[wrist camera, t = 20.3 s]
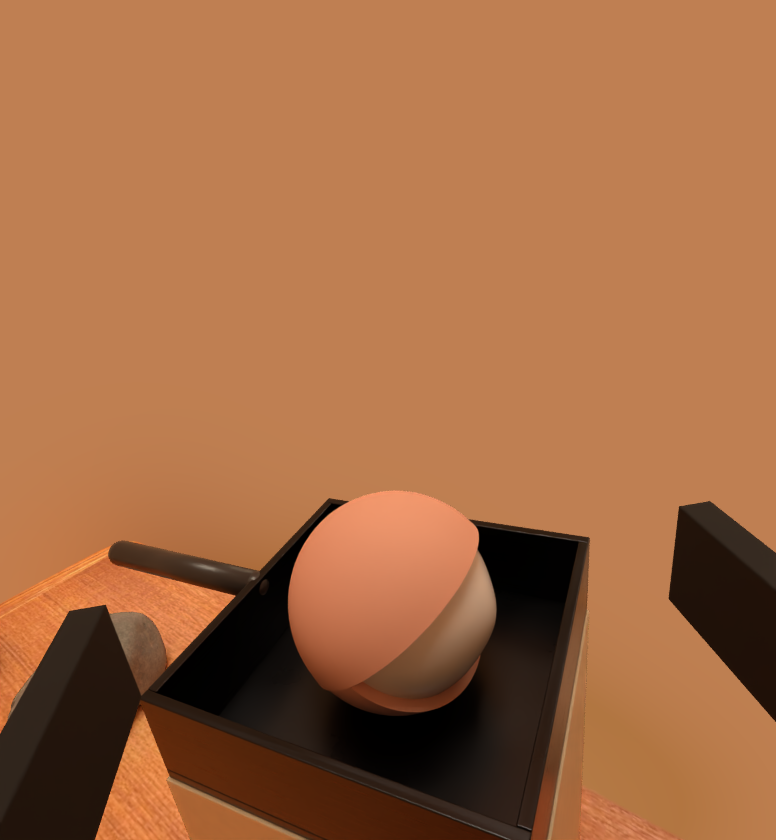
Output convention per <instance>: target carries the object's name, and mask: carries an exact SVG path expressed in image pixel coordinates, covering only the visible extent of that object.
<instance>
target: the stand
mask: <svg viewBox="0 0 776 840" xmlns="http://www.w3.org/2000/svg"><path fill="white" fill-rule="evenodd" d="M588 630H589V610H587V612H586V618H585V624H584V630H583V635H582V641H581V647H580V653H579V659H578V665H577V670H576V676H575V682H574V688H573V694H572V700H571V705H570V711H569V717H568V723H567V729H566V735H565V741H564V746H563V752H562V758H561V764H560V770H559V776H558V781H557V787H556V793H555V799H554V805H553V811H552V816H551V822H550V828H549V834H548V840H580V818H581V795H582V770H583V746H584V724H585V700H586V699H585V698H586V677H587V654H588V653H587V652H588ZM167 783H168V785H169V788H170V790H171V793H172V795H173V798H174V800H175V803H176V805H177V807H178V810H179V812H180V815H181V817H182V820H183V822H184V825H185V827H186V830H187V832H188V835H189V837H190V840H308V839H306V838H304V837H302V836H299V835H297V834H295V833H293V832H290V831H288V830H286V829H284V828H282V827H279V826H277V825H275V824H273V823H270V822H268V821H266V820H264V819H262V818H259V817H257V816H255V815H253V814H250V813H248V812H246V811H244V810H242V809H239V808H237V807H235V806H233V805H230V804H228V803H226V802H224V801H222V800H219V799H217V798H215V797H213V796H210V795H208V794H206V793H204V792H202V791H199V790H197V789H195V788H193V787H190V786H188V785H186V784H184V783H182V782H179V781H177V780H175V779H173V778H170V776H169V777H168V778H167Z"/></svg>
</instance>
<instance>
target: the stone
mask: <svg viewBox="0 0 776 840" xmlns="http://www.w3.org/2000/svg"><path fill="white" fill-rule="evenodd" d="M109 615H110V617H111V620H112V622H113V625H114V627H115V630H116V632H117V635H118V637H119V640H120V642H121V645H122V648H123V650H124V653H125V655H126V658H127V660H128V663H129V665H130V668H131V670H132V673H133V676H134V678H135V681H136V683H137V686H138V688H139V691H140V693H141V695H142V694H143V693H144V692H145V691H146V690H148V688H149V687H150V686H151V685H152V684H153V683H154V682H155V681H156V680H157V679H158V678H159V677H160V675H161V674H162V673H163V672H164V671H165V668H166V663H167V658H166V650H165V646H164V643H163V640H162V638H161V635H160V633H159V630H158V629H157V627H156V625H155V624H154V623H153V621H152V620H150V619H149V618H148V617H147V616H146V615H144V614H141V613H137V612H120V613H113V614H109ZM34 673H35V672H34ZM34 673H33V674H32V675H31V677H30V678H29V679H28V680H27V682H26V683H25V684H24V686H23V687H22V688H21V690H20V691H19V692H18V694H17V695H16V696H15V698H14V700H13V702H12V705H11V711H10V713H9V716H8V719H9V717H10V716H11V714H12V712H13V710H14V709H15V707H16V705H17V703H18V701H19V700H20V698H21V696H22V694H23V693H24V691H25V689H26V687H27V685H28V684H29V682H30V680H31V678H32V677H33V675H34ZM140 704H141V703H139V705H140Z"/></svg>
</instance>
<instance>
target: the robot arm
mask: <svg viewBox="0 0 776 840" xmlns="http://www.w3.org/2000/svg"><path fill="white" fill-rule="evenodd" d="M669 600H670V601H671V602H672V603H673V605H675V607H676V608H677V609H678V610H679V611H680V613H681V614H682V615H683V616H684V617H685V618H686V619H687V621H688V622H689V623H690V624H691V625H692V626H693V627H694V629H695V630H696V631H697V632H698V633H699V634H700V636H702V638H703V639H704V640H705V641H706V642H707V644H709V646H710V647H711V648H712V649H713V650H714V651H715V653H716V654H717V655H718V656H719V657H720V658H721V660H722V661H723V662H724V663H725V664H726V665H727V666H728V668H729V669H730V670H731V671H732V672H733V673H734V675H735V676H736V677H737V678H738V679H739V680H740V681H741V683H742V684H743V685H744V686H745V687H746V688H747V689H748V691H749V692H750V693H751V694H752V695H753V696H754V697H755V699H756V700H757V701H758V702H759V703H760V704H761V706H762V707H763V708H764V709H765V710H766V711H767V712H768V714H769V715H770V716H771V717H772V718H773V719H774V720H775V722H776V553H775V552H774V551H773V550H771V549H770V548H768V547H767V546H766V545H765V544H764V543H762V542H761V541H760V540H759V539H757V538H756V537H755V536H753V535H752V534H751V533H750V532H748V531H747V530H746V529H745V528H743V527H742V526H741V525H739V524H738V523H737V522H736V521H734V520H733V519H732V518H731V517H729V516H728V515H727V514H726V513H724V512H723V511H722V510H720V509H719V508H718V507H717V506H715V505H714V504H713V503H711V502H710V501H708V502H703V503H697V504H691V505H685V506H679V512H678V521H677V530H676V539H675V547H674V556H673V566H672V574H671V582H670V592H669ZM141 697H142V696H141V693H140V691H139V688H138V686H137V683H136V681H135V678H134V676H133V673H132V670H131V668H130V665H129V663H128V660H127V658H126V655H125V653H124V650H123V648H122V645H121V642H120V640H119V637H118V635H117V632H116V630H115V627H114V625H113V622H112V620H111V617H110V615H109V612H108V609H107V607H106V605H102V606H96V607H90V608H84V609H79V610H73V611H69V613H68V614H67V616H66V618H65V620H64V621H63V623H62V625H61V627H60V629H59V630H58V632H57V634H56V636H55V637H54V639H53V641H52V643H51V645H50V646H49V648H48V650H47V652H46V653H45V655H44V657H43V659H42V661H41V662H40V664H39V666H38V668H37V669H36V671H35V673H34V675H33V677H32V678H31V680H30V682H29V684H28V685H27V687H26V689H25V691H24V693H23V694H22V696H21V698H20V700H19V701H18V703H17V705H16V707H15V709H14V710H13V712H12V714H11V716H10V717H9V719H8V721H7V723H6V725H5V726H4V728H3V730H2V732H1V733H0V840H95V837H96V834H97V831H98V828H99V825H100V822H101V819H102V816H103V813H104V810H105V807H106V804H107V801H108V797H109V794H110V791H111V788H112V785H113V782H114V779H115V776H116V773H117V770H118V767H119V764H120V761H121V758H122V755H123V752H124V749H125V745H126V742H127V739H128V736H129V733H130V730H131V727H132V724H133V721H134V718H135V715H136V712H137V709H138V706H139V703H140V700H141Z"/></svg>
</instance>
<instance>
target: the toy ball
mask: <svg viewBox="0 0 776 840" xmlns="http://www.w3.org/2000/svg"><path fill="white" fill-rule="evenodd" d="M478 543H479V533H478V530H477V528H476V526H475V525H474V524H473V523H472V522H471V521H469V520H468V519H467V518H466V517H465V516H463V515H462V514H461V513H460V512H458V511H457V510H455V509H454V508H452V507H451V506H449V505H447V504H445V503H444V502H442V501H439V500H437V499H435V498H433V497H430V496H426V495H424V494H420V493H415V492H409V491H382V492H376V493H372V494H368V495H364V496H361V497H359V498H356V499H354V500H352V501H349V502H347V503H346V504H344V505H342V506H340V507H339V508H337V509H336V510H334V511H333V512H332V513H330V514H329V515H328V516H327V517H326V518H325V519H323V520H322V521H321V522H320V523H319V525H318V526H317V527H316V528H315V529H314V530H313V532H312V533H311V534H310V536H309V537H308V539H307V540H306V542H305V543H304V545H303V547H302V549H301V551H300V553H299V555H298V557H297V560H296V562H295V565H294V568H293V572H292V575H291V580H290V586H289V594H288V613H289V622H290V627H291V632H292V636H293V639H294V642H295V645H296V647H297V650H298V652H299V654H300V657H301V658H302V660H303V662H304V664H305V666H306V667H307V669H308V670H309V672H310V673H311V674H312V676H313V677H314V679H315V680H316V681H317V682H318V684H319V685H320V686H321V687H322V688H323V689H325V690H328V691H330V692H332V693H333V694H334V695H335V696H337V697H338V698H340V699H341V700H343V701H345V702H346V703H348V704H350V705H352V706H354V707H356V708H359V709H361V710H364V711H367V712H371V713H375V714H379V715H387V716H407V715H414V714H419V713H424V712H427V711H430V710H434V709H437V708H439V707H442V706H444V705H446V704H448V703H449V702H451V701H452V700H454V699H455V698H456V697H457V696H458V695H460V694H461V693H462V692H463V690H464V689H465V688H466V687H467V685H468V684H469V682H470V681H471V679H472V677H473V675H474V673H475V671H476V669H477V666H478V663H479V659H480V655H481V653H482V651H483V650H484V648H485V646H486V645H487V643H488V641H489V639H490V637H491V634H492V632H493V629H494V626H495V622H496V615H497V606H496V598H495V593H494V589H493V585H492V582H491V579H490V576H489V573H488V570H487V567H486V565H485V563H484V560H483V558H482V556H481V554H480V553H479V551H478V549H477V548H478Z"/></svg>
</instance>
